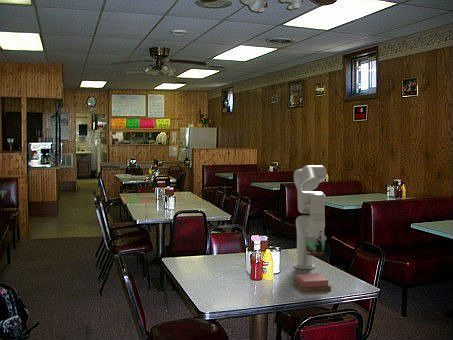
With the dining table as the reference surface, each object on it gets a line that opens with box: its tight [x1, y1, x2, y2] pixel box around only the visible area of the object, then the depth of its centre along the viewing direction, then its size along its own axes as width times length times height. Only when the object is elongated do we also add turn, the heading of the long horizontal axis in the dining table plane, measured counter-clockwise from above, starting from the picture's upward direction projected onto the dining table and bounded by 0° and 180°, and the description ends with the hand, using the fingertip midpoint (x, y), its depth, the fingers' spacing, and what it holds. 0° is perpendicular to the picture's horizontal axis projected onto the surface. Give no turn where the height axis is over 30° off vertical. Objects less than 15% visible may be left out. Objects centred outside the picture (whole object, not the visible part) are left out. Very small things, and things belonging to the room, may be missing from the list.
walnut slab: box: [293, 278, 332, 293], centre depth 258 cm, size 15×15×3 cm
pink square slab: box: [295, 272, 329, 287], centre depth 258 cm, size 13×13×3 cm
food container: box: [304, 234, 328, 257], centre depth 257 cm, size 12×6×10 cm, turn 107°
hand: (316, 250), depth 258 cm, fingers closed on food container, 5 cm apart
